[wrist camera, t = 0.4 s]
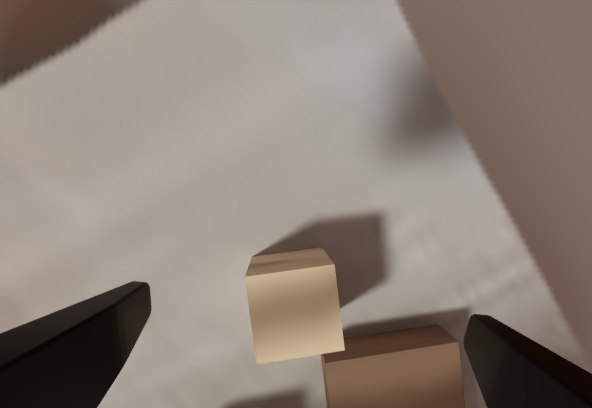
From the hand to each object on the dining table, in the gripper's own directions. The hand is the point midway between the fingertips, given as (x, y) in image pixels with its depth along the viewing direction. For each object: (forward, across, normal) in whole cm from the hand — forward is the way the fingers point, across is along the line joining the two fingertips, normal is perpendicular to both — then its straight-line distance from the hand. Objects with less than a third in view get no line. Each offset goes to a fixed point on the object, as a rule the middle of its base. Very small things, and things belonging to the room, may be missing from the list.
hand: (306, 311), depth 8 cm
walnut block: (+11, -7, +14) cm, 19 cm away
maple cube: (+12, +1, +7) cm, 14 cm away
